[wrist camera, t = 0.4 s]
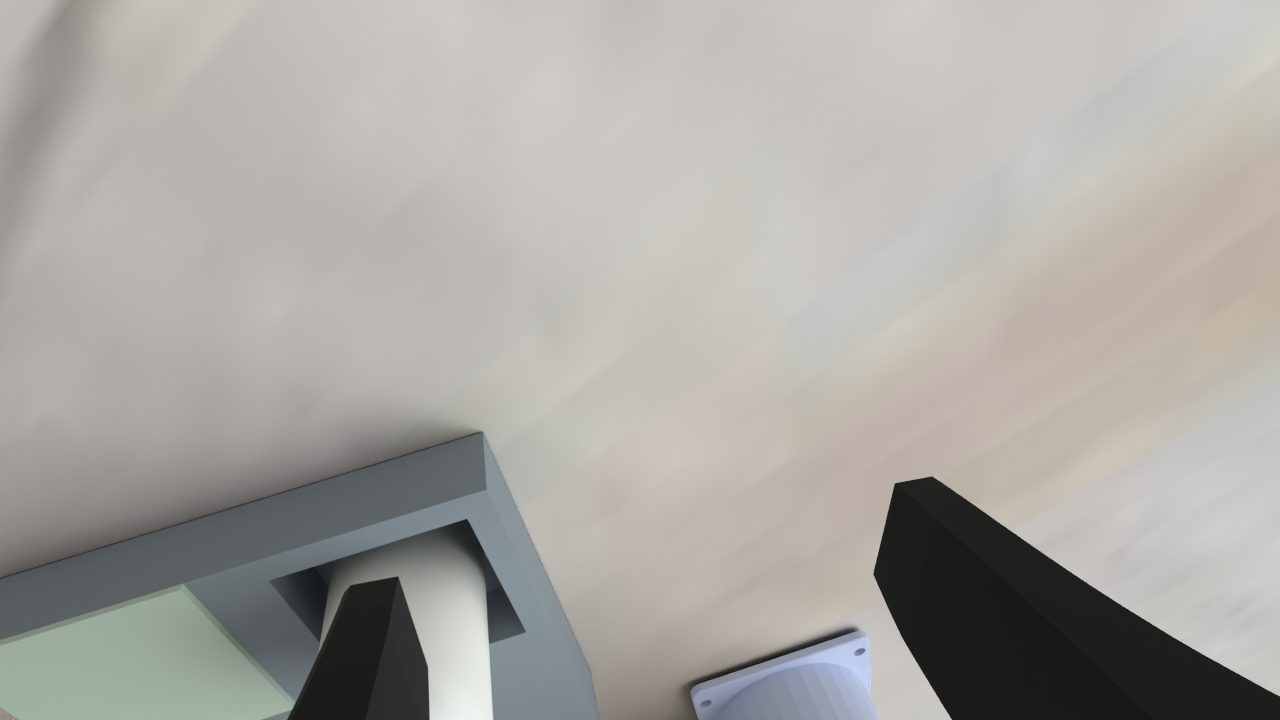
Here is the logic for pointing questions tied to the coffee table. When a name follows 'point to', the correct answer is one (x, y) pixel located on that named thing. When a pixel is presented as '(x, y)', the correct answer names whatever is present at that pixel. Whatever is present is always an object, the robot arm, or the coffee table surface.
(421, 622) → the cylinder
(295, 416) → the coffee table surface
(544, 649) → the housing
